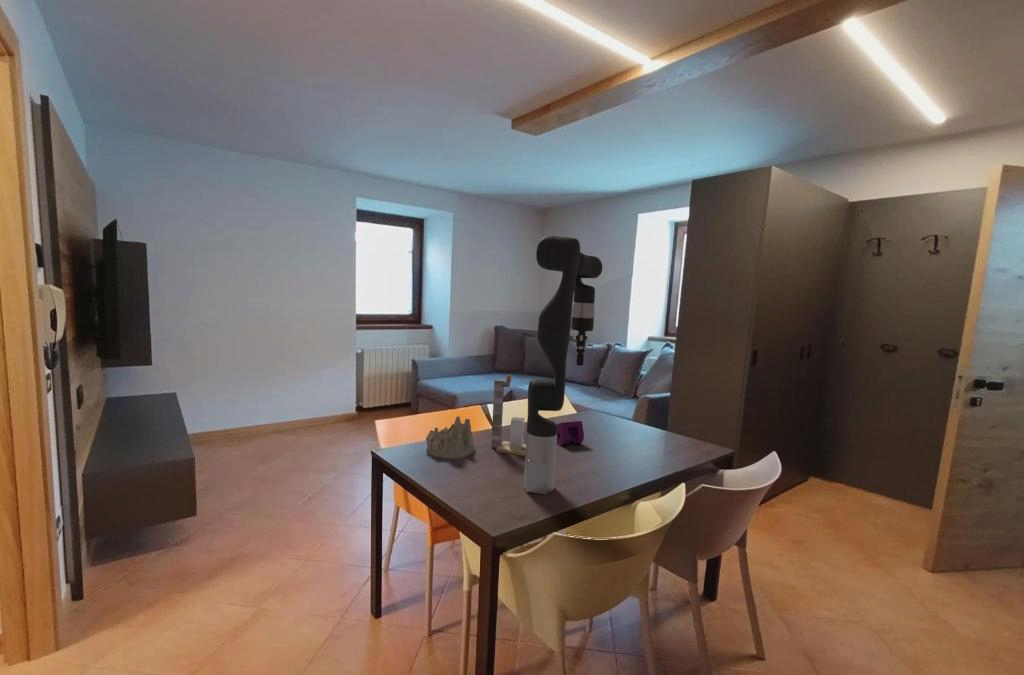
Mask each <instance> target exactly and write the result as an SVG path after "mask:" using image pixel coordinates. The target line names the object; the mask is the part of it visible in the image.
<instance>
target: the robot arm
mask: <svg viewBox="0 0 1024 675" xmlns="http://www.w3.org/2000/svg"><path fill="white" fill-rule="evenodd" d="M535 253H536V254H535V256H536V262H537V264H538V266H539V267H540V268H542V269H543V270H546V271H547V270H548V271H554V272H560V273H561V272H562V276H561V280H560V283H559V285H558V288H557V290H556V292H554V294H553V296H551V299H550V300H549V301H548V302H547V303H546V304H545V306H544V307H543V308H542V310H541V311H540V314H539V316H538V324H537V334H536V336H537V338H536V339H537V342H538V344H539V346H540V348H541V350H542V352H543V354H544V356H545V357H546V358H547V360H548V362H549V364H550V366H551V369H552V372H553V374H554V375H553V376H554V377H553V379H531V380H530V381H529V383H528V387H527V419H526V422H527V424H526V434H525V435H526V438H525V439H526V441H525V444H526V453H525V455H524V457H525V458H524V473H523V474H524V476H523V477H524V478H523V479H524V480H523V488H524V490H525V492H526V493H532V494H533V493H534V494H540V495H548V494H549V493H551V492H553V491H554V489H555V476H556V474H555V473H556V458H557V445H558V444H557V424H558V423H556V422H555V421H553V420H550V419H548V418H546V417H544V416H542V415H541V414H540V413H539V412H541V411H542V412H544V411H545V412H558V411H559V412H560V411H561V410H562V409H563V406H564V402H565V392H566V372H567V369H566V368H567V359H568V358H567V357H568V350H569V343H570V336H571V330H572V331H577V332H578V333H577V335H575V349H576V352H575V353H576V366H584V360H585V359H584V358H585V357H584V356H585V353H586V352H585V351H586V349H587V342H588V335H587V333H586V332H592V331H594V325H595V324H594V323H595V297H596V289H595V287H594V286H593V285H588V284H585V283H584V282H583V280H582V279H597V278H599V277H600V276H601V274H602V272H603V263H602V261H601V260H600V258H598V257H597V256H594V255H587V254H584V253H583V252H581V244H580V241H579V240H578V239H577V238H575V237H568V236H567V237H566V236H558V235H547V236H544V237H542V238H541V239H540V240H539V241H538V244H537V247H536V252H535Z"/></svg>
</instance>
